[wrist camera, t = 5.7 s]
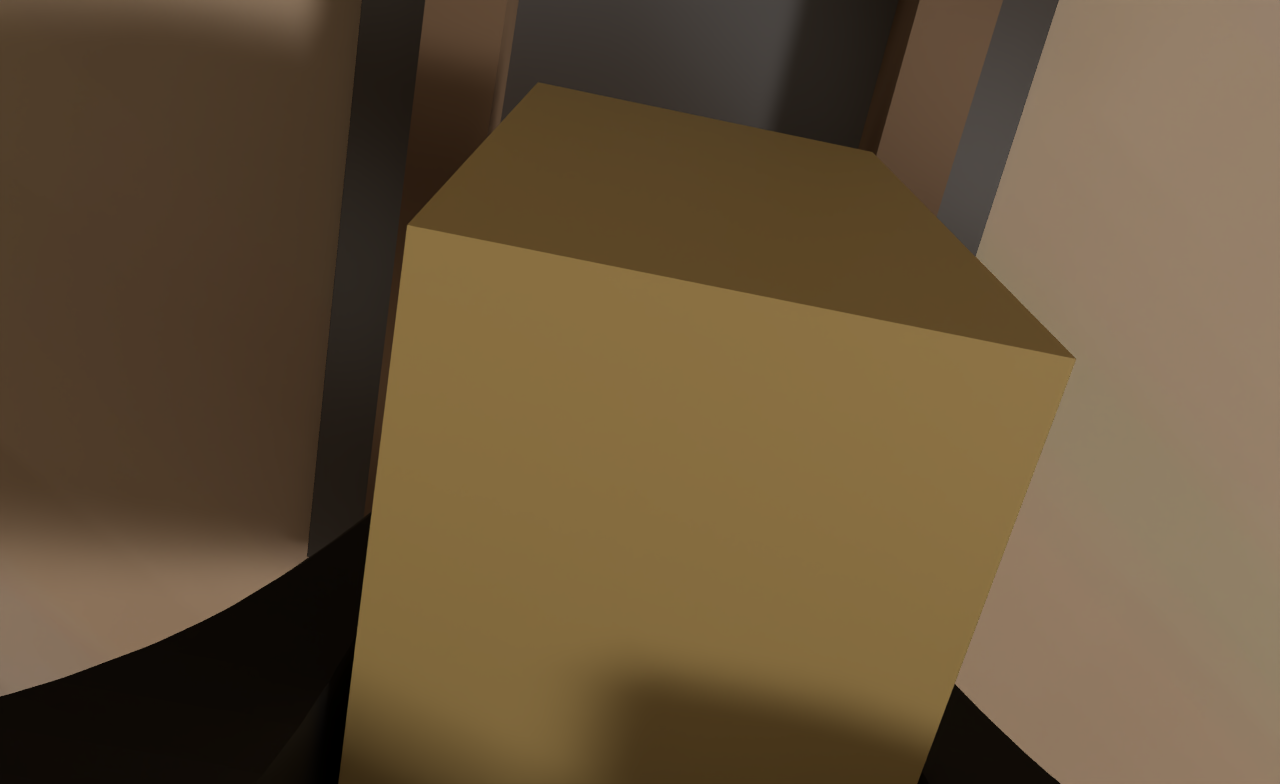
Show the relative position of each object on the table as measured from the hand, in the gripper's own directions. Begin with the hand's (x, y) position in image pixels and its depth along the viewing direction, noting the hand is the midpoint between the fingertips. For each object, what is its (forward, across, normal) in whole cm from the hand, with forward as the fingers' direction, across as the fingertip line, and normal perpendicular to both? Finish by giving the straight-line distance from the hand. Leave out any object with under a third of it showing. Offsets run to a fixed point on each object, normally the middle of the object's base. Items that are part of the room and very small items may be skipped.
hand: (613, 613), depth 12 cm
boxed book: (+3, 0, 0) cm, 3 cm away
